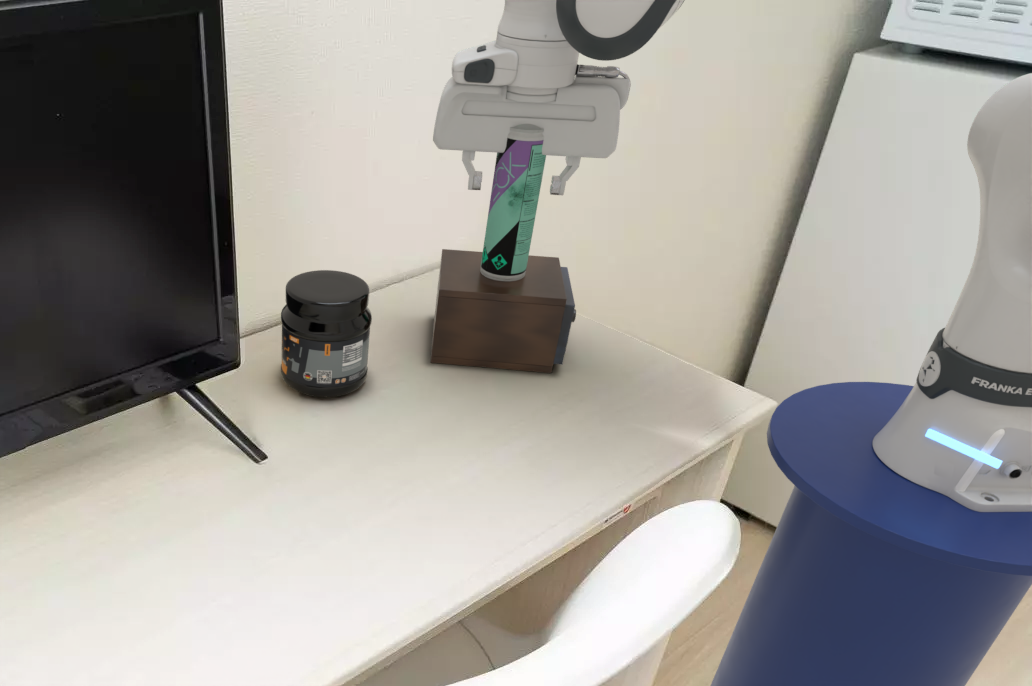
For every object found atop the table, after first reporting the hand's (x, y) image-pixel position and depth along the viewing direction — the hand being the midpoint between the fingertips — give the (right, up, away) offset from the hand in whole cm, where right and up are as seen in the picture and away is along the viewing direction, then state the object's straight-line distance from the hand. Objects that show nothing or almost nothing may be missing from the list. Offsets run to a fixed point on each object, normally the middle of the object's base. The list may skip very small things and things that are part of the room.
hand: (514, 191), depth 108 cm
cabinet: (0, -16, +12) cm, 20 cm away
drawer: (+2, -15, +11) cm, 19 cm away
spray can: (0, -8, +6) cm, 10 cm away
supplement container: (-22, -22, +4) cm, 31 cm away
